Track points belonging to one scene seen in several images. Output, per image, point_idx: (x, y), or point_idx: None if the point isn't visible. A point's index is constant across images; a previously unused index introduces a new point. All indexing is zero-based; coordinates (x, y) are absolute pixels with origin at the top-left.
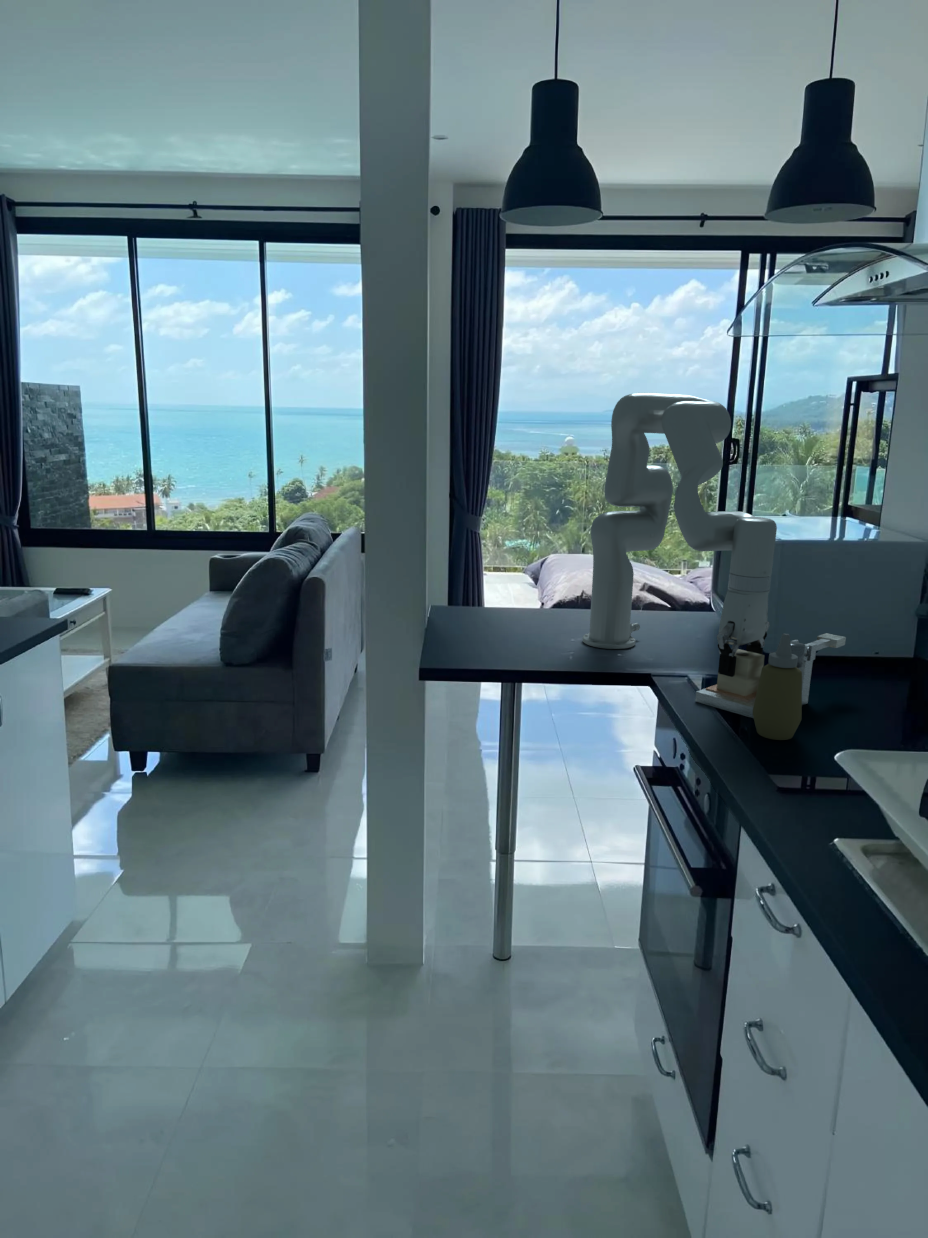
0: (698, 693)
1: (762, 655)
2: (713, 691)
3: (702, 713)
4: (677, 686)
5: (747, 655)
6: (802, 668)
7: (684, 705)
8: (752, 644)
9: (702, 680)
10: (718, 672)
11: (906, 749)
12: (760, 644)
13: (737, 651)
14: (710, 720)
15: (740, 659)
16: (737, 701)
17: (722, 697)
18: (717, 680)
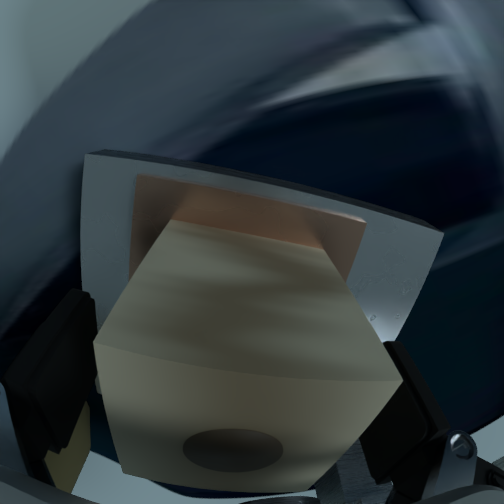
0: (86, 166)
1: (291, 490)
2: (134, 217)
3: (27, 227)
4: (264, 7)
5: (221, 471)
6: (320, 495)
7: (46, 143)
8: (416, 464)
9: (415, 80)
10: (74, 288)
11: (182, 493)
12: (388, 497)
13: (304, 420)
14: (7, 267)
15: (118, 448)
16: (100, 328)
17: (95, 274)
18: (161, 234)
